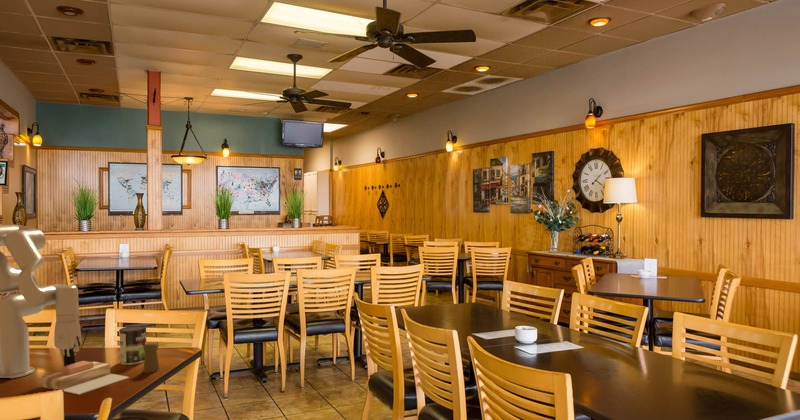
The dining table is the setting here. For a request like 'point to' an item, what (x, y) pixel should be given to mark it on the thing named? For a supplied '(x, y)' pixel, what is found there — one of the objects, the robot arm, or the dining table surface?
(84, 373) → the birch board
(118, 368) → the dining table surface
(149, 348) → the cork
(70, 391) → the grey mat
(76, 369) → the terracotta tile
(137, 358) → the coffee can
